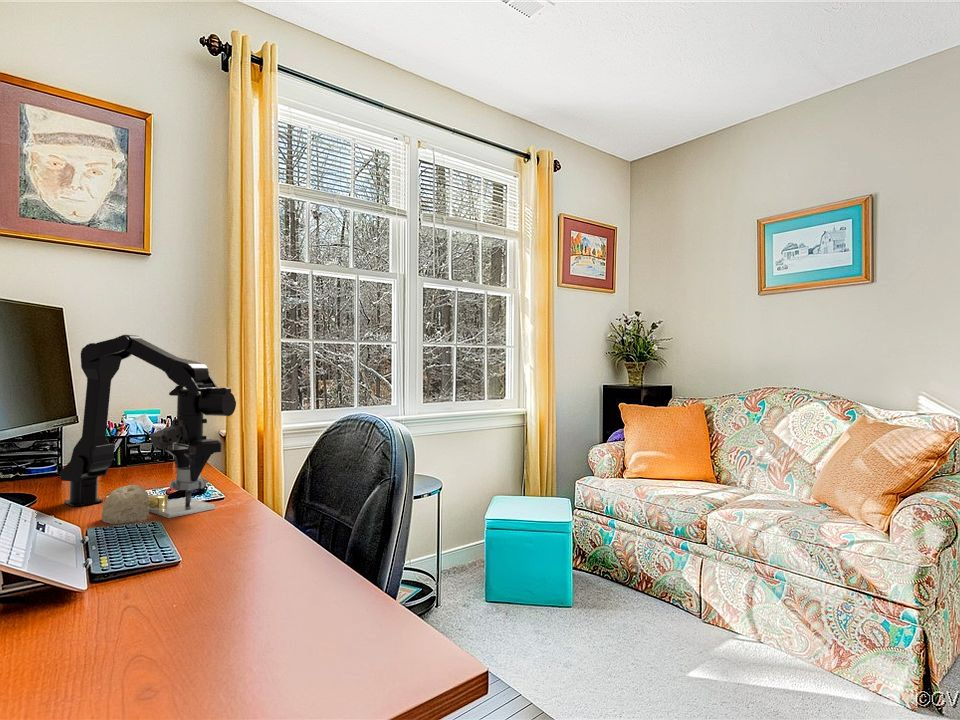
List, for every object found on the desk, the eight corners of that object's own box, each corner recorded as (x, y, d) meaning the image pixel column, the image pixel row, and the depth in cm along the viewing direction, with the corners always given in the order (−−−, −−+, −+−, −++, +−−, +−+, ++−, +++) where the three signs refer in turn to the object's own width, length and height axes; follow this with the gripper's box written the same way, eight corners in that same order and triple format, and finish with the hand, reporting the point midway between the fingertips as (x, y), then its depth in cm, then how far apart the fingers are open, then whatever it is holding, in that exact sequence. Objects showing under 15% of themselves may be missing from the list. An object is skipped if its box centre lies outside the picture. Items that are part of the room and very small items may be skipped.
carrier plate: (138, 509, 137) (138, 490, 137) (186, 500, 146) (187, 483, 146) (165, 518, 129) (166, 498, 129) (214, 508, 139) (215, 490, 139)
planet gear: (164, 487, 137) (165, 468, 137) (195, 482, 143) (196, 464, 143) (180, 491, 132) (181, 472, 132) (212, 486, 139) (212, 468, 139)
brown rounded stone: (149, 536, 130) (166, 494, 136) (125, 520, 122) (144, 477, 128) (111, 533, 131) (130, 492, 137) (84, 518, 123) (106, 475, 129)
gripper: (136, 414, 137) (134, 479, 136) (176, 419, 126) (174, 490, 126) (183, 411, 146) (181, 473, 145) (223, 416, 135) (222, 483, 135)
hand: (188, 479), depth 138 cm, fingers closed on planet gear, 5 cm apart
